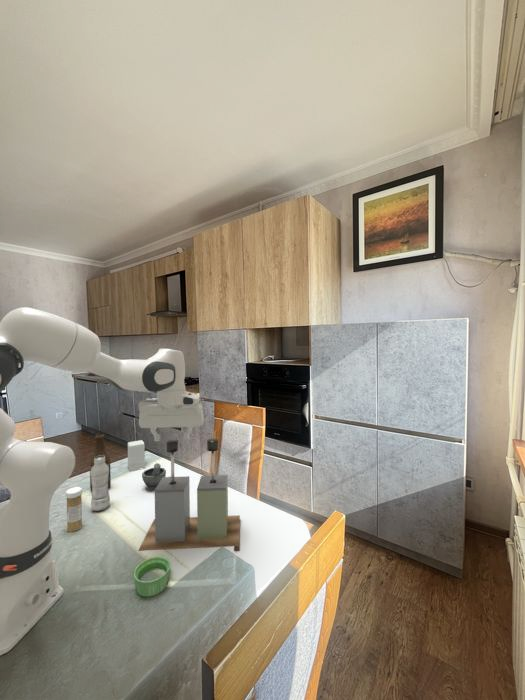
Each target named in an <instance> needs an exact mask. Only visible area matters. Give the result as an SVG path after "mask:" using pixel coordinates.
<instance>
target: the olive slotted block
mask: <svg viewBox="0 0 525 700" xmlns="http://www.w3.org/2000/svg"><path fill="white" fill-rule="evenodd" d="M228 478H229V476H228V474H222V475H221V474H218V475H215V483H212V478H211V475H201V476H200V479H199V482H198V484H197V489H196V501H197V502H196V503H197V504H196V505H197V506H196V507H197V508H196V509H197V511H196V513H197V515H196V517H197V528H198V540H213V539H227V527H228V516H229V506H228V505H229V500H228V499H229V495H228V493H229V492H228V490H229V489H228V488H229V487H228V484H229V483H228V481H229V480H228Z"/></svg>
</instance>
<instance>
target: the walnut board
mask: <svg viewBox="0 0 525 700" xmlns="http://www.w3.org/2000/svg"><path fill="white" fill-rule="evenodd" d="M240 519H241V516H240V515H228V527H227V539H213V540H198V528H197V516H193V517H191V516H190V525H189V528H188V531H187V535H186V538H185V541H170V542H155V518H154V519H153V521H152V523H151V525H150V527H149V529H148V531H147V532H146V534H145V537H144V539H143V540H142V542H141V544H140V547H139V548H138V552H143V551H144V552H145V551H161V550H184V549H203V548H221V547H222V548H224V547H226V548H227V547H233V552H236V551H238V552H239V551H240V529H241V528H240V526H241V525H240V523H241V522H240V521H241V520H240Z"/></svg>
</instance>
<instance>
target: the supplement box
mask: <svg viewBox="0 0 525 700" xmlns="http://www.w3.org/2000/svg"><path fill="white" fill-rule="evenodd" d="M145 446H146V445H145V442H144V441H143V440H142V439H139V440H134V441H130V442H129V441H128V442H127V468H128V471H129V472H132V470H133V471H137V470H136V469H138V470H141V469H140V468H143V469H145V468H146V461H145V459H146V458H145V457H146V453H145V450H146V449H145Z"/></svg>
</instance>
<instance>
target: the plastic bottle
mask: <svg viewBox="0 0 525 700" xmlns="http://www.w3.org/2000/svg"><path fill="white" fill-rule="evenodd" d="M94 463H95V464H94V466H93V467H92V469H91V471H90V470H89V477H90V476H91V481H92V492H91V499H90V506H91V510H92V511H95V512H99V511H104V510H105V509H106V508H108V507H109V506H110V502H111V498H110V496H111V495H110V492H109V490H108V475H109V467H108V465H107V464H106V463H105V456H104V455H100V456H96V457H95V458H94Z"/></svg>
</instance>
